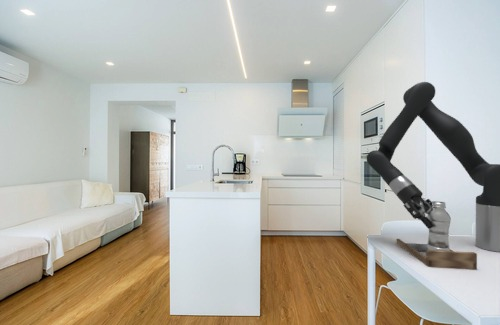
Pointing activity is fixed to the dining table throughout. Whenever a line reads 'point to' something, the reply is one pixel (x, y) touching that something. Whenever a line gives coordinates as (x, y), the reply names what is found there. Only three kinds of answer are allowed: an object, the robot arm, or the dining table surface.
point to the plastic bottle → (439, 227)
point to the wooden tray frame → (441, 256)
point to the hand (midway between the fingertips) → (438, 226)
